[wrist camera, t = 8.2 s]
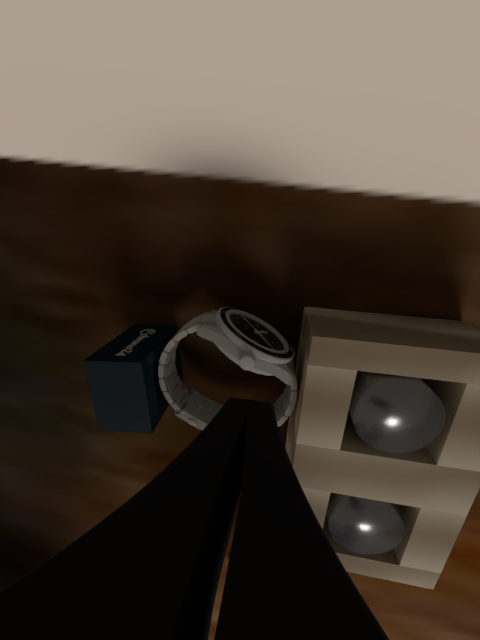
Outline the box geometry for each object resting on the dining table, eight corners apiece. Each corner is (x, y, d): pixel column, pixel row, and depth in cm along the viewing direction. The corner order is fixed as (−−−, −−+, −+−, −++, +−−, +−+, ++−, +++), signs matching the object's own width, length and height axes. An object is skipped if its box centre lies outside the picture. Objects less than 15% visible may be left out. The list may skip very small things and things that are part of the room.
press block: (399, 507, 21) (433, 589, 16) (279, 486, 22) (278, 557, 17) (461, 321, 16) (537, 359, 11) (304, 306, 17) (312, 336, 12)
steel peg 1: (394, 401, 18) (431, 459, 13) (331, 392, 18) (346, 446, 14) (409, 344, 16) (457, 388, 12) (341, 337, 17) (362, 376, 12)
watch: (130, 297, 18) (295, 298, 17) (145, 398, 21) (290, 405, 20) (73, 325, 13) (305, 329, 12) (103, 456, 16) (297, 470, 14)
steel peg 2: (370, 486, 20) (395, 560, 16) (315, 477, 21) (324, 546, 16) (382, 443, 19) (413, 510, 14) (323, 435, 19) (335, 497, 15)
